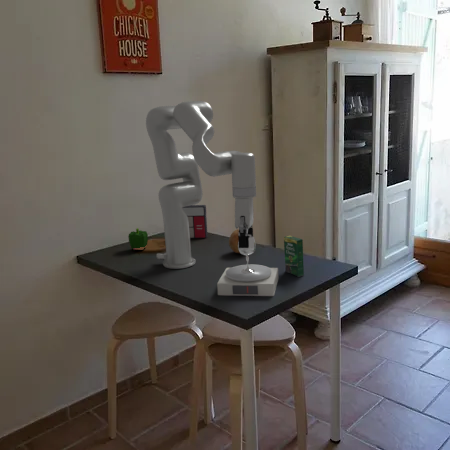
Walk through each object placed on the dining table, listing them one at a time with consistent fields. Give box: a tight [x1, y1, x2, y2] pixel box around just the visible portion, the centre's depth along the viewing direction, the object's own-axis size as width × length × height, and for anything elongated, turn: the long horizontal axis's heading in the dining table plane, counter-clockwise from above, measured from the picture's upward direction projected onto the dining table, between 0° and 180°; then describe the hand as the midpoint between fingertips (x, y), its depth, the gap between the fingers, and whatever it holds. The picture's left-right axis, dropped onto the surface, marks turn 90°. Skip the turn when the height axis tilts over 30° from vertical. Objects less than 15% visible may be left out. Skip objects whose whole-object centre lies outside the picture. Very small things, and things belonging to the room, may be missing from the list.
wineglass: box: [238, 234, 257, 273], centre depth 169 cm, size 6×6×12 cm
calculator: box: [182, 204, 208, 239], centre depth 237 cm, size 11×4×15 cm, turn 81°
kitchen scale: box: [216, 263, 279, 297], centre depth 170 cm, size 18×17×5 cm
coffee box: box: [283, 235, 305, 278], centre depth 180 cm, size 8×3×13 cm, turn 28°
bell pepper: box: [127, 227, 149, 250], centre depth 223 cm, size 8×8×10 cm
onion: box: [228, 228, 241, 254], centre depth 209 cm, size 10×10×10 cm
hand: (246, 243), depth 168 cm, fingers open, 9 cm apart
